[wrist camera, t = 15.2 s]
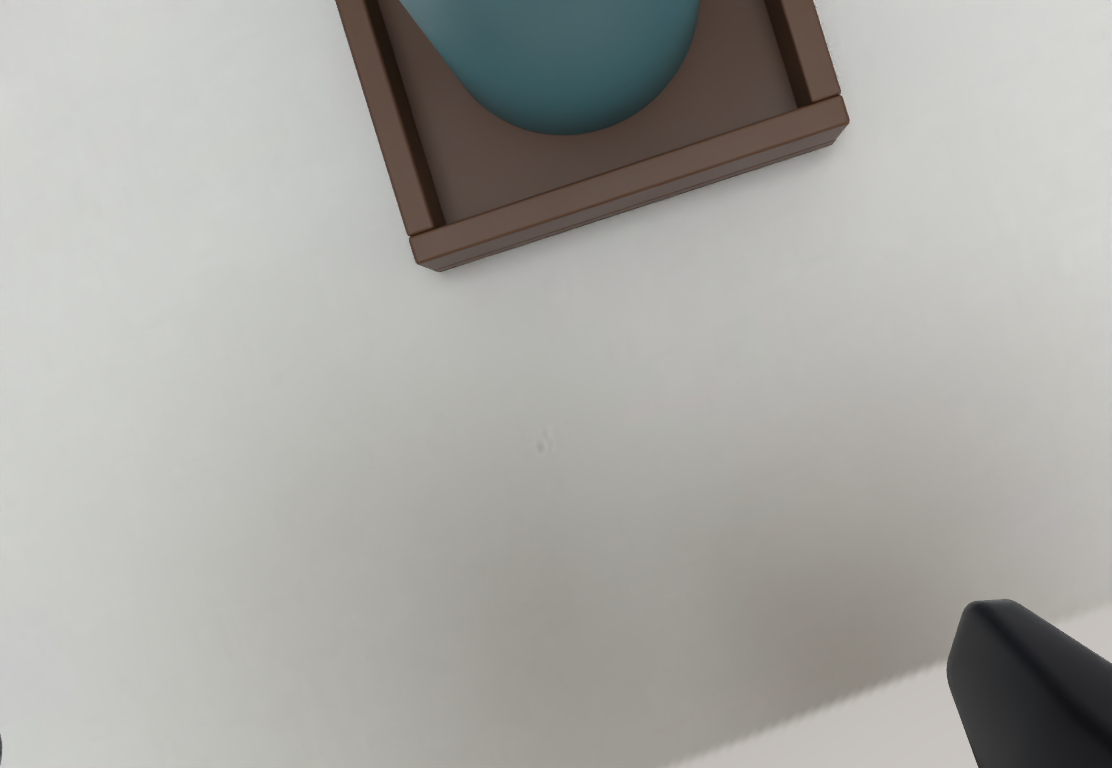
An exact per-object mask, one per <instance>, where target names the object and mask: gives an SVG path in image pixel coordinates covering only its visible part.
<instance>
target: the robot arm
mask: <svg viewBox="0 0 1112 768" xmlns="http://www.w3.org/2000/svg"><path fill="white" fill-rule="evenodd" d="M947 679H948V684H949V687H950V690H951V693H952V696H953V699H954V701H955V704H956V707H957V709H958V712H959V715H960V718H961V721H962V724H963V726H964V729H965V732H966V734H967V737H968V740H969V743H970V746H971V748H972V751H973V754H974V757H975V759H976V762H977V765H978V767H979V768H1112V663H1110V662H1108V661H1107V660H1105V659H1104V658H1102V657H1101V656H1099V655H1098V654H1096V653H1095V652H1093V651H1091V650H1090V649H1088V648H1087V647H1085V646H1084V645H1082V644H1080V643H1079V642H1078V641H1076V640H1075V639H1073V638H1071V637H1070V636H1068V635H1067V634H1065V633H1064V632H1062V631H1060V630H1059V629H1058V628H1056V627H1055V626H1053V625H1051V624H1050V623H1048V622H1047V621H1045V620H1044V619H1042V618H1041V617H1039V616H1038V615H1036V614H1034V613H1033V612H1031V611H1030V610H1028V609H1027V608H1025V607H1024V606H1022V605H1021V604H1019V603H1017V602H1015V601H1012V600H1008V599H999V600H984V601H974V602H971V603H969V604H968V605H967V606H966V607H965V608H964V611H963V613H962V616H961V619H960V622H959V625H958V628H957V632H956V635H955V638H954V641H953V644H952V647H951V650H950V654H949V657H948V661H947ZM1 758H2V741H1V735H0V764H1Z"/></svg>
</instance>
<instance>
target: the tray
mask: <svg viewBox="0 0 1112 768" xmlns="http://www.w3.org/2000/svg"><path fill="white" fill-rule="evenodd" d="M335 1H336V5H337V8H338V11H339V14H340V18H341V21H342V24H343V27H344V31H345V34H346V37H347V40H348V44H349V47H350V50H351V53H352V57H353V60H354V63H355V67H356V70H357V73H358V76H359V80H360V83H361V86H362V89H363V93H364V96H365V99H366V102H367V106H368V109H369V112H370V115H371V119H372V122H373V125H374V128H375V132H376V135H377V138H378V141H379V145H380V148H381V151H382V154H383V158H384V161H385V164H386V167H387V171H388V174H389V177H390V180H391V184H392V187H393V190H394V193H395V197H396V200H397V203H398V207H399V210H400V213H401V216H402V220H403V223H404V226H405V229H406V233H407V235H408V236H410V238H409V242H410V246H411V249H412V252H413V255H414V259H415V262H416V263H417V264H418V265H421V266H424V267H427V268H429V269H432V270H434V271H437V272H441V271H444V270H447V269H450V268H454V267H457V266H460V265H463V264H466V263H469V262H472V261H475V260H478V259H481V258H484V257H487V256H490V255H494V254H497V253H500V252H503V251H506V250H509V249H512V248H515V247H518V246H521V245H524V244H527V243H530V242H534V241H537V240H540V239H543V238H546V237H549V236H552V235H555V234H558V233H561V232H564V231H567V230H570V229H573V228H577V227H580V226H583V225H586V224H589V223H592V222H595V221H598V220H601V219H604V218H607V217H610V216H613V215H617V214H620V213H623V212H626V211H629V210H632V209H635V208H638V207H641V206H644V205H647V204H650V203H653V202H656V201H660V200H663V199H666V198H669V197H672V196H675V195H678V194H681V193H684V192H687V191H690V190H693V189H696V188H700V187H703V186H706V185H709V184H712V183H715V182H718V181H721V180H724V179H727V178H730V177H733V176H736V175H739V174H743V173H746V172H749V171H752V170H755V169H758V168H761V167H764V166H767V165H770V164H773V163H776V162H779V161H783V160H786V159H789V158H792V157H795V156H798V155H801V154H804V153H807V152H810V151H813V150H816V149H819V148H822V147H826V146H829V145H831V144H833V143H834V141H835V140H836V138H837V137H838V136H839V135H840V134H841V132H842V131H843V130H844V129H845V127H846V126H847V125H848V124H849V116H848V113H847V110H846V107H845V103H844V100H843V97H842V96H841V95H840V93H841V90H840V86H839V83H838V80H837V77H836V73H835V70H834V67H833V64H832V60H831V57H830V54H829V51H828V47H827V44H826V41H825V38H824V34H823V31H822V28H821V25H820V21H819V18H818V15H817V12H816V8H815V5H814V2H813V0H699V8H698V18H697V23H696V27H695V32H694V36H693V39H692V41H691V44H690V47H689V49H688V52H687V54H686V56H685V58H684V60H683V62H682V64H681V66H680V68H679V69H678V71H677V72H676V74H675V75H674V77H673V78H672V79H671V81H670V82H669V84H668V85H667V86H666V87H665V88H664V89H663V90H662V91H661V92H660V94H659V95H658V96H657V97H656V98H655V99H653V100H652V101H651V102H650V103H649V104H647V105H646V106H645V107H644V108H643V109H641V110H640V111H638V112H637V113H635V114H634V115H632V116H630V117H629V118H627V119H625V120H623V121H621V122H619V123H617V124H615V125H613V126H609V127H606V128H603V129H600V130H597V131H593V132H588V133H583V134H574V135H553V134H543V133H538V132H534V131H529V130H526V129H523V128H520V127H517V126H515V125H512V124H510V123H508V122H506V121H504V120H502V119H501V118H499V117H497V116H496V115H494V114H493V113H491V112H490V111H488V110H487V109H486V108H484V107H483V106H482V105H481V104H480V103H479V102H478V101H477V100H475V99H474V98H473V97H472V96H471V95H470V93H469V92H468V91H467V90H466V89H465V87H464V86H463V85H462V84H461V82H460V81H459V80H458V78H457V77H456V76H455V74H454V73H453V72H452V70H451V69H450V68H449V66H448V65H447V64H446V62H445V61H444V60H443V58H442V57H441V56H440V54H439V53H438V52H437V50H436V49H435V48H434V46H433V45H432V44H431V42H430V41H429V39H428V38H427V37H426V35H425V34H424V33H423V31H422V30H421V29H420V27H419V26H418V25H417V23H416V22H415V21H414V19H413V18H412V17H411V15H410V14H409V13H408V11H407V10H406V9H405V7H404V6H403V5H402V3H401V2H400V1H399V0H335Z"/></svg>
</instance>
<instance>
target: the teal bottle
mask: <svg viewBox="0 0 1112 768" xmlns="http://www.w3.org/2000/svg"><path fill="white" fill-rule="evenodd" d="M399 1H400V2H401V3H402V5H403V6H404V7H405V9H406V10H407V11H408V13H409V14H410V15H411V17H412V18H413V19H414V21H415V22H416V23H417V25H418V26H419V27H420V29H421V30H422V31H423V33H424V34H425V35H426V37H427V38H428V39H429V41H430V42H431V44H432V45H433V46H434V48H435V49H436V50H437V52H438V53H439V54H440V56H441V57H442V58H443V60H444V61H445V62H446V64H447V65H448V66H449V68H450V69H451V70H452V72H453V73H454V74H455V76H456V77H457V78H458V80H459V81H460V82H461V84H462V85H463V86H464V87H465V89H466V90H467V91H468V92H469V93H470V95H471V96H472V97H473V98H474V99H475V100H477V101H478V102H479V103H480V104H481V105H482V106H483V107H484V108H486V109H487V110H488V111H490V112H491V113H493V114H494V115H496V116H497V117H499V118H501V119H502V120H504V121H506V122H508V123H510V124H512V125H515V126H517V127H520V128H523V129H526V130H529V131H534V132H538V133H543V134H553V135H574V134H583V133H588V132H593V131H597V130H600V129H603V128H606V127H609V126H613V125H615V124H617V123H619V122H621V121H623V120H625V119H627V118H629V117H630V116H632V115H634V114H635V113H637V112H638V111H640V110H641V109H643V108H644V107H645V106H646V105H647V104H649V103H650V102H651V101H652V100H653V99H655V98H656V97H657V96H658V95H659V94H660V92H661V91H662V90H663V89H664V88H665V87H666V86H667V85H668V84H669V82H670V81H671V79H672V78H673V77H674V75H675V74H676V72H677V71H678V69H679V68H680V66H681V64H682V62H683V60H684V58H685V56H686V54H687V52H688V49H689V47H690V44H691V41H692V39H693V36H694V32H695V27H696V23H697V18H698V8H699V0H399Z"/></svg>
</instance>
